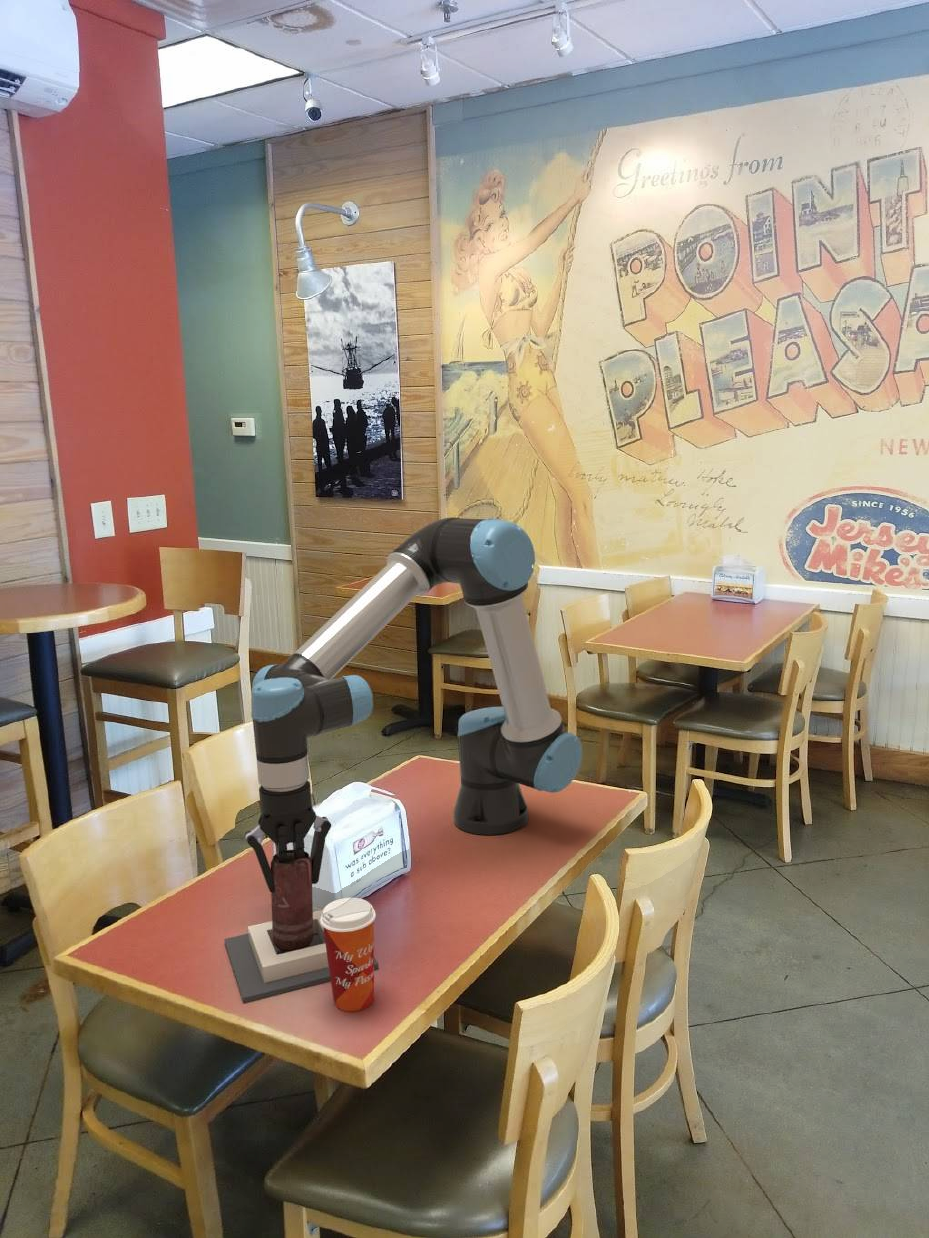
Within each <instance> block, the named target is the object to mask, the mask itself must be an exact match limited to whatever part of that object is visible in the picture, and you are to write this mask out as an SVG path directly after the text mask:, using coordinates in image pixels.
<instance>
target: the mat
mask: <svg viewBox="0 0 929 1238" xmlns="http://www.w3.org/2000/svg"><path fill="white" fill-rule="evenodd" d="M223 940H224V946H225V950H226V952H227V956H228V959H229V962H230V965H231V969H232V972H233V975H234V978H235V980H236V984H237V988H238V990H239V994H240V997H241V1000H242V1002H243V1003H242V1004H246V1003H249V1002H254V1001H258V1000H261V999H265V998H269V997H273V996H278V995H282V994H285V993H289V992H293V991H296V990H300V989H305V988H308V987H309V988H310V987H312V986H316V985H320V984H324V983H328V982H331V978H330V972H329V967H327V968H323V969H319V970H315V971H311V972H307V973H303V974H299V975H295V976H290V977H286V978H282V979H278V980H274V981H270V982H266V983H264V981H263V978H262V975H261V973H260V970H259V967H258V964H257V962H256V959H255V956H254V953H253V950H252V948H251V945H250V942H249V935H248V933H244V934H241V935H236V936H232V937H231V936H230V937H228V938H224V939H223ZM320 944H324V943H323V942H322V940H321V938H320V936H319V934H318V933H317V934H313V940H312V942H311V944H310V945H309V946H308V947H312V946H316V945H320ZM272 945H273V947H274V950H275V952H276V955H278V954H283V953H287V952H289V951H283V950H279V949H278V948H277V947H276V946H275V945H274V944H272ZM308 947H306V948H308ZM290 952H291V951H290ZM375 970H379V963H378V961H377V959H375V957H374V971H375Z"/></svg>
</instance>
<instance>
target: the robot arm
mask: <svg viewBox="0 0 929 1238" xmlns="http://www.w3.org/2000/svg"><path fill="white" fill-rule="evenodd" d="M535 562H536V555H535V548H534V545H533V542H532V540H531V538H530V536H529V534H528V533H527V532H526V531H525V529H524V528H522V526H520V525H518V524H516V523H514V522H512V521H508V520H502V519H498V518H487V519H486V518H485V519H484V518H463V517H454V516H453V517H445V518H441V519H437V520H435V521H433V522H431V523H428V524H427V525H424V527H422V528H420V529H419V530H418V531H416V532H414V533H413V534H412V535H410V536H409V537H408V538H406V539H405V540H404V541H402V543H401V544H399V545H398V546H397V547H396V548H395V549H394V550H393V551H392V552H390V554H388V556H387V557H386V565H385V566H384V567H383V568H382V569H381V570H380V571H379V572H378V573H377V574H375V576H374V577H373V578H372V579H370V580H369V582H368V583H366V584H365V585H364V586H363V587H362V588H361V589H360V590H358V592H357V593H356V594H355V595H353V597H352V598H350V599H349V600H348V601H347V602H346V604H344V605H343V606H342V607H341V608H340V609H339V610H338V611H337V612H336V613H335V614H334V615H333V616H332V617H330V618H329V620H327V621H326V622H325V623H324V624H323V625H322V626H321V627H320V628H319V629H317V631H316V632H315V633H313V635H312V636H311V637H309V638H308V639H307V640H306V641H305V642H304V643H303V644H302V645H301V646H300V647H299V648H298V649H297V650H296V651H295V652H294V653H293V654H292V655H290V657H288V658H287V659H286V660H285V661H284V662H283V663H282V664H269V665H266V666H264V667H262V668H260V669H259V671H258V672H256V675H255V676H254V677H253V681H252V686H251V692H250V693H251V695H250V696H251V699H250V700H251V704H250V705H251V712H250V716H251V719H252V728H253V738H254V739H253V740H254V748H255V757H256V768H257V782H258V785H259V789H258V793H259V795H258V797H259V803H260V817H259V819H258V821H257V823H258V825H257V826H256V827H255V828H254V829H252V830H247V831H246V832H245V833H244V837H245V840H246V843H247V844H248V845H249V846H250V847H251V848H252V850H253V851H254V854H255V856H256V859H257V862H258V864H259V867H260V869H261V873H262V876H263V878H264V881H265V883H266V884H265V885H266V886H267V888H268V890H269V892H270V893H275V887H274V877H273V874H272V871H271V865H270V863H269V861H268V858H267V855H266V852H265V849H264V847H263V845H262V843H263V841H264V837H263V833H264V834H265V835H266V836H267V837H268V839H269V840H271V842H272V843H274V845H275V854H276V858H277V859H278V861H279V863H287V862H288V860H287V850H288V844H290V843H291V844H292V850H293V852H294V856H295V858H296V860H297V859H300V858H305V854H304V851H305V838H306V837H307V835H308V833H309V832H310V830H311V828H312V827H313V829H314V831H313V835H312V836H313V837H312V842H311V843H312V845H311V850H310V854H309V857H310V858H311V860H312V885H317V884H318V882H319V880H320V874H321V869H322V862H323V857H324V856H323V855H324V850H325V844H326V837H327V836H328V834H329V831H331V828H332V824H331V822H330V820H329V819H328V817H327V816H319V815H317V813H316V811H315V810H314V809H313V805H312V804H313V803H312V792H311V791H312V789H311V782H310V781H309V779H310V768H309V767H310V766H309V756H308V755H309V754H308V751H309V750H308V738H311V737H315V736H319V735H323V734H326V733H328V732H332V731H336V730H340V729H343V728H346V727H349V728H350V727H353V725H356V724H358V723H360V722H363V721H365V720H367V719H368V718H369V717H370V715H371V714H372V711H373V709H374V701H373V698H374V697H373V696H374V695H373V692H372V689H371V687H370V685H369V683H368V682H367V681H366V679H364V678H363V677H361V676H360V675H356V674H352V675H351V674H350V675H346V676H345V675H342V676H340V677H338V678H334V677H336V676H337V675H338V673H340V672H341V670H343V669H344V668H345V667H346V666H347V665H348V664H349V663H350V662H351V661H352V660H353V658H355V657H356V656H357V655H358V654H359V653H360V652H361V651H362V650H363V649H364V648H365V647H366V646H367V645H368V644H369V643H370V642H371V641H372V640H373V639H374V638H375V637H376V636H377V635H378V634H379V633H380V632H381V631H382V630H383V629H384V628H386V627H387V626H388V624H389V623H391V621H392V620H393V619H394V618H395V617H396V616H397V615H398V614H399V613H401V611H403V609H404V608H406V606H407V605H408V604H410V603H411V602H412V601H413V599H415V598H416V597H418V596H419V597H423V596H425V595H426V594H428V593H429V592H430V591H431V590H432V589H433V588H434V587H436V586H438V585H440V584H443V583H444V584H445V583H452V584H458V585H460V590H461V592H462V597H463V601H464V603H465V604H466V605H467V606H469V607H471V608H473V609H475V611H476V612H475V613H476V616H477V619H478V623H479V626H480V630H481V633H482V637H483V641H484V644H485V647H486V652H487V655H488V659H489V662H490V666H491V669H492V673H493V677H494V681H495V683H496V687H497V691H498V695H499V698H500V702H501V705H502V706H490V707H484V708H483V707H482V708H477V709H475V710H470V711H468V712H466V713H463V714H462V716H460V717H459V719H458V726H457V727H458V728H457V729H458V732H457V742H458V743H457V744H458V757H459V771H460V772H459V774H460V788H459V791H458V794H457V798H456V802H455V805H454V809H453V822H454V825H455V827H457V828H458V829H459V830H461V831H464V832H467V833H469V834H474V835H484V836H485V835H486V836H487V835H489V836H490V835H491V836H492V835H494V836H495V835H501V834H502V835H503V834H509V833H512V832H514V831H517V830H520V829H521V828H523V827H524V826H526V825H527V823H528V821H529V809H528V808H529V807H528V804H527V802H526V799H525V797H524V794H523V792H522V789H521V787H520V786H521V785H522V786H525V787H528V788H530V789H534V790H537V791H539V792H542V791H543V792H548V793H559V792H561V791H563V790H564V789H566V788H567V787H568V786H569V785H570V784H572V782H573V781H574V779H575V778H576V776H577V775H578V772H579V769H580V767H581V763H582V758H583V745H582V743H581V740H580V738H579V737H578V736H576V735H575V734H574V733H573V732H567V731H566V730H565V727H564V722H563V720H562V716H561V713H560V712H559V711H558V710H556V709H554V708H551V703H550V701H549V696H548V693H547V688H546V685H545V681H544V677H543V676H544V675H543V672H542V668H541V665H540V661H539V657H538V653H537V650H536V644H535V642H534V637H533V633H532V628H531V626H530V621H529V617H528V613H527V610H526V605H525V602H524V598H523V597H524V594H526V592H527V590H528V589H529V581H530V580H531V578H532V575H533V573H534V568H533V566H534V565H535Z"/></svg>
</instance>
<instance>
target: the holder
mask: <svg viewBox="0 0 929 1238" xmlns="http://www.w3.org/2000/svg"><path fill="white" fill-rule="evenodd" d="M323 910H324V908H323V909H319V910H316V911H314V910H313V934H317V933H318V934H319V936H320V938H321V940H322V942H323V943H324V944H320V945H316V946H312V947H308V948H304V949H299V950H295V951H291V952H287V953H283V954H278V955H276V952H275V950H274V947H273V945H272V944H274V943H273V933H272V920H271V921H266V922H262V923H258V924H257V923H256V924H253V925H249V926H247V934H248V935H249V942H250V945H251V948H252V950H253V953H254V956H255V959H256V962H257V964H258V967H259V970H260V973H261V975H262V978H263V981H264V983H266V982H270V981H274V980H278V979H282V978H286V977H290V976H295V975H299V974H303V973H307V972H311V971H315V970H319V969H323V968H327V967H329V966H328V959H327V951H326V944H325V936H324V929H323V926H322V925H321V923H320V918H321V916H322V913H323Z"/></svg>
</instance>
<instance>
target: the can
mask: <svg viewBox="0 0 929 1238" xmlns="http://www.w3.org/2000/svg"><path fill="white" fill-rule="evenodd" d="M304 854H305V858H300V859H297V860H296V858H295V856H294V852H293V849H287V860H288V862H287V863H279V861H278V859H277V858H276V853H275V854H274V855H273V856H272V859H271V861H270V869H271V871H272V874H273V877H274V887H275V893H271V892H270V893H271V894H270V895H271V921H272V933H273V943H274V945H275V946H276V947H277V948H278V949H279V950H283V951H289V952H290V951H295V950H299V949H304V948H306V947H308V946H309V945H310V944H311V942H312V940H313V912H314V908H313V884H312V860H311V858H310V854H309V853H308V852H307V851H305V850H304Z"/></svg>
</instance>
